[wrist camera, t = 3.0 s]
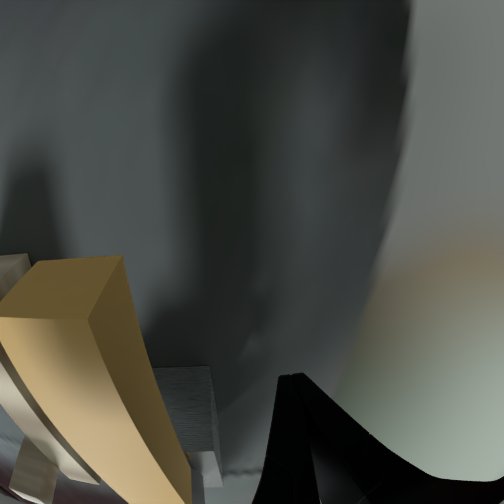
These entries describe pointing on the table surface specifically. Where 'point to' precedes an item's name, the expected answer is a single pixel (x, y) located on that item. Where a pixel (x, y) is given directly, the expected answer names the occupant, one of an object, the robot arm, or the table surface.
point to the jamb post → (193, 417)
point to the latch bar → (97, 376)
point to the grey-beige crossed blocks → (34, 419)
